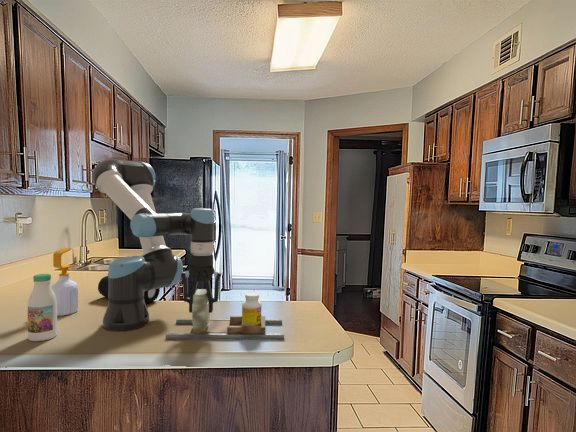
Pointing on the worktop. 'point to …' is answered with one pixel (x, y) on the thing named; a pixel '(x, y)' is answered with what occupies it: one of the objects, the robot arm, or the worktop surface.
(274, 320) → the lane rails
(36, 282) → the milk bottle
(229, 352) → the worktop surface
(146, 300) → the portable speaker
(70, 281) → the soap bottle
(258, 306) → the supplement bottle
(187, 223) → the robot arm
